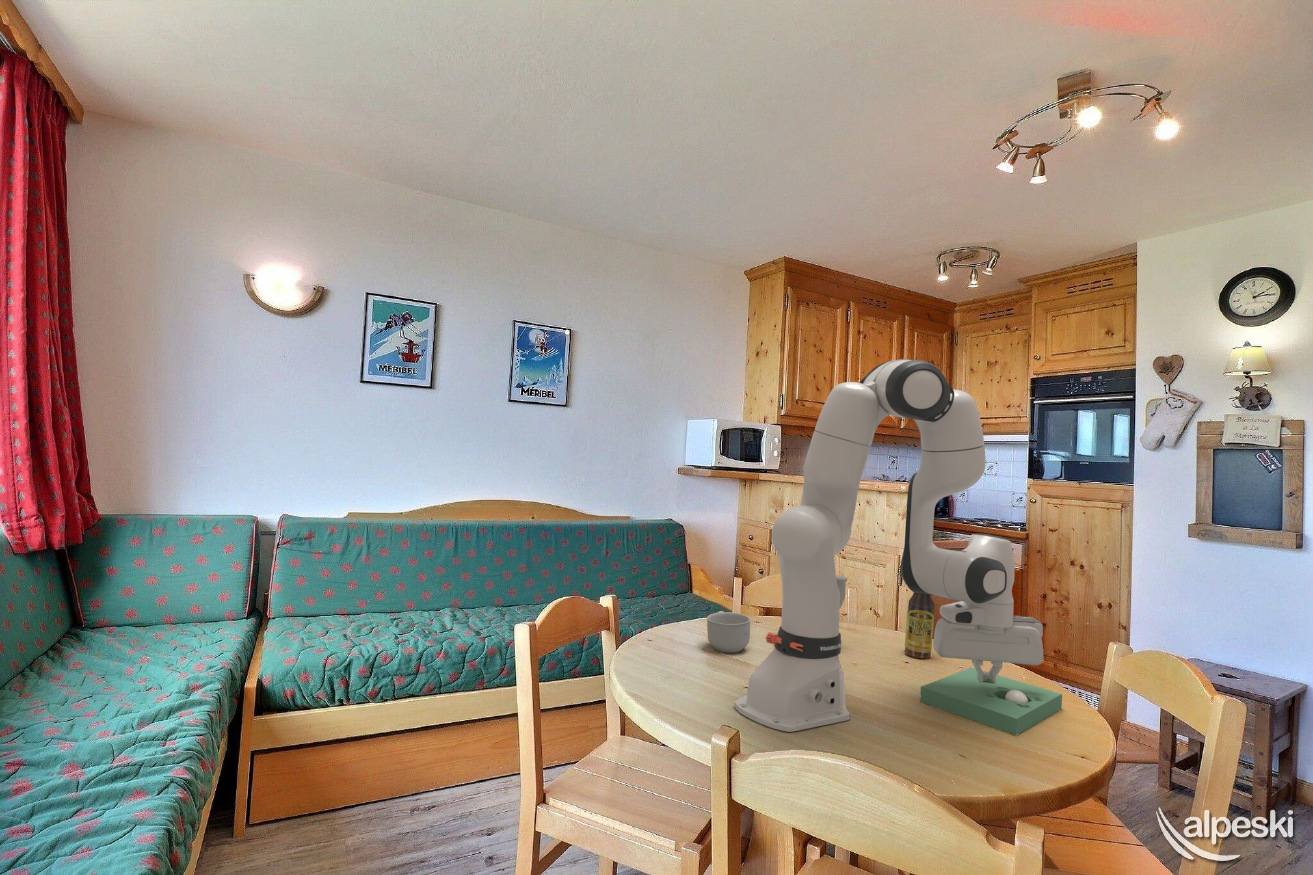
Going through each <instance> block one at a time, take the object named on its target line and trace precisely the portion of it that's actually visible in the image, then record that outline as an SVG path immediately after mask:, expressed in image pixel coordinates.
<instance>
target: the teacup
mask: <svg viewBox="0 0 1313 875" xmlns="http://www.w3.org/2000/svg"><path fill="white" fill-rule="evenodd" d="M751 619H752V618H751V617H750V616H749V615H746V614H743V613H739V612H732V611H731V612H729V611H728V612H727V611H726V612H725V611H723V610H720V611H717V612H714V613H711V614H709V615H707V616H706V620H707V623H706V624H707V626H706V628H707V630H706V631H707V639H708V642H709V644H710V645H711V646H712V647H714V648H713V649H715V650H716V651H718V652H722V653H738V652H741V651H742V650H744V648H746V647H747V646H748V644H749V643H750V639H751V638H750V637H751Z"/></svg>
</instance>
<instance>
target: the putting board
mask: <svg viewBox="0 0 1313 875" xmlns="http://www.w3.org/2000/svg"><path fill="white" fill-rule="evenodd" d="M982 671H983V672H986V671H984V670H982ZM1011 690H1018V691H1020V692H1022V693H1023V694H1024V695H1025V696H1026V697H1027V699H1028V703H1027V704H1022V703H1014V702H1011V701H1007V700H1005V695H1006V694H1007V692H1009V691H1011ZM919 697H920V699H919V700H920V701H919V702H920V703H923V704H926V705H929V706H932V707H934V708H938V709H940V710H942V711H945V712H949V713H952V714H954V715H957V716H960V717H962V716H963V718H966V719H968V720H971V721H973V722H977V723H980V724H982V725H985V726H988V727H990V728H993V727H994V729H996V728H997V730H999V729H1000V731H1002V732H1005V733H1007V732H1009V733H1008V734H1010V733H1011V735H1013V734H1015V735H1014V736H1016V735H1017V734H1018V735H1020V734H1022V733H1023V732H1025V731H1026V729H1027V730H1028V728H1029V727H1030V728H1032V727H1034V726H1036V725H1037V724H1039V723H1041V722H1043V720H1045V719H1047V718H1048V716H1049V717H1051V716H1052V715H1054V714H1055V712H1056V713H1057V712H1059V711H1061V710H1062V708H1063V705H1062V704H1063V694H1062V693H1060V692H1057V691H1053V690H1049V689H1045V688H1044V687H1043V688H1042V687H1039V686H1035V685H1032V684H1028V683H1025V682H1023V681H1020V680H1015V679H1011V678H1008V677H1004V676H1000V675H998V674H997V675H996V683H995V684H993V683H982V682H979V681H978V679H977V670H976V669H975V667H974V668H973V667H969V668H966V669H963V670H961V671H959V672H955V673H953V674H951V675H947V676H945V677H943V678H940V679H937V680H935V681H932V682H929V683H927V684H923V685H921V686H920V696H919ZM1033 725H1034V726H1033ZM1030 728H1029V729H1030ZM1021 732H1022V733H1021ZM1018 735H1017V736H1018Z"/></svg>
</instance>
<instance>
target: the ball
mask: <svg viewBox="0 0 1313 875" xmlns="http://www.w3.org/2000/svg"><path fill="white" fill-rule="evenodd" d="M1005 700H1007V701H1011V702H1014V703H1022V704H1027V703H1028V699H1027V697H1026V696H1025V695H1024V694H1023V693H1022V692H1020V691H1018V690H1011V691H1009V692H1007V694H1006V695H1005Z"/></svg>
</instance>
